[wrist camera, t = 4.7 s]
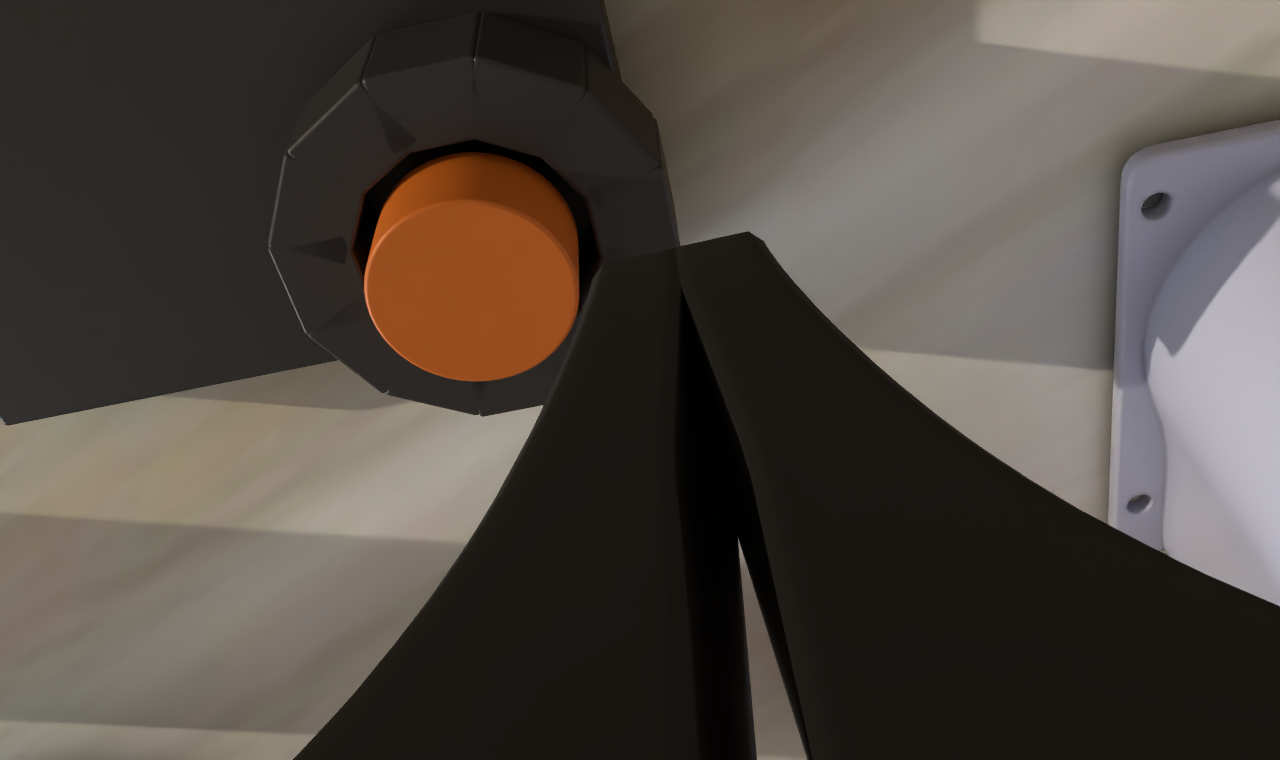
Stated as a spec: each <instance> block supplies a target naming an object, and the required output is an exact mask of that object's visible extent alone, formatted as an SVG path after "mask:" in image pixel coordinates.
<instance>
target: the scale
mask: <svg viewBox="0 0 1280 760" xmlns="http://www.w3.org/2000/svg"><path fill="white" fill-rule="evenodd" d="M463 152H481V153H491V154H496V155H500V156H505V157H507V158H510V159H513V160H516V161H518V162H520V163H523V164H525V165H527V166H529V167H530V168H532V169H533V170H535V171H536V172H538V173H540V174H541V175H542V176H543V177H545V178H546V179H547V180H548V181H549V182H551V184H552V185H553V186H554V187H555V188H556V189H557V190H558V191H559V192H560V194H561V195H562V197H563V198H564V199H565V201H566V202H567V204H568V206H569V208H570V210H571V212H572V214H573V217H574V220H575V223H576V227H577V232H578V245H579V305H578V311H577V314H576V318H575V321H574V323H573V325H572V328H571V330H570V332H569V333H568V335H567V336H566V338H565V340H564V341H563V342H562V343H561V344H560V346H559V347H558V348H557V349H556V350H555V351H554V352H553V353H552V354H551V355H550V356H549V357H547V358H546V359H545V360H544V361H542V362H541V363H539V364H538V365H536V366H535V367H533V368H531V369H529V370H527V371H525V372H522V373H520V374H517V375H514V376H511V377H507V378H503V379H498V380H491V381H461V380H456V379H450V378H446V377H442V376H439V375H435V374H433V373H430V372H428V371H426V370H423V369H421V368H419V367H418V366H416V365H414V364H412V363H410V362H409V361H408V360H406V359H405V358H403V357H402V356H401V355H399V354H398V353H397V352H396V351H395V350H394V349H393V348H392V347H391V346H390V345H389V344H388V343H387V342H386V341H385V339H384V338H383V337H382V336H381V334H380V333H379V331H378V330H377V328H376V326H375V325H374V323H373V320H372V318H371V316H370V314H369V311H368V308H367V305H366V300H365V294H364V276H365V270H366V265H367V261H368V257H369V253H370V250H371V246H372V242H373V238H374V234H375V230H376V227H377V223H378V219H379V216H380V212H381V209H382V207H383V205H384V203H385V201H386V199H387V197H388V195H389V194H390V192H391V191H392V189H393V188H394V187H395V186H396V185H397V183H398V182H399V181H400V180H401V179H402V178H403V177H405V176H406V175H407V174H408V173H410V172H411V171H412V170H414V169H415V168H417V167H419V166H420V165H422V164H424V163H426V162H428V161H431V160H433V159H436V158H439V157H442V156H446V155H450V154H456V153H463ZM679 246H680V241H679V235H678V228H677V221H676V215H675V208H674V202H673V197H672V192H671V188H670V183H669V178H668V173H667V168H666V164H665V159H664V154H663V149H662V144H661V139H660V135H659V130H658V125H657V121H656V119H655V118H653V115H652V113H651V112H650V111H649V110H648V109H647V108H646V107H645V106H644V104H643V103H642V102H641V101H640V100H639V99H638V98H637V97H636V96H635V95H634V94H633V93H632V92H631V91H630V90H629V89H628V88H627V87H626V86H625V84H624V83H623V82H622V80H621V76H620V71H619V67H618V62H617V58H616V53H615V49H614V44H613V40H612V35H611V31H610V26H609V22H608V17H607V13H606V8H605V4H604V0H0V419H1V421H2V422H3V424H5V425H13V424H18V423H23V422H28V421H33V420H38V419H43V418H48V417H53V416H58V415H63V414H68V413H73V412H78V411H83V410H89V409H94V408H99V407H104V406H109V405H114V404H119V403H124V402H129V401H134V400H139V399H144V398H149V397H154V396H159V395H164V394H169V393H175V392H180V391H185V390H190V389H195V388H200V387H205V386H210V385H215V384H220V383H225V382H230V381H235V380H240V379H245V378H250V377H256V376H261V375H266V374H271V373H276V372H281V371H286V370H291V369H296V368H301V367H306V366H311V365H316V364H321V363H326V362H331V361H336V360H339V361H341V362H342V363H343V364H345V365H346V366H347V367H349V368H350V369H351V370H352V371H354V372H355V373H356V374H358V375H359V376H360V377H362V378H363V379H364V380H365V381H367V382H368V383H369V384H371V385H372V386H373V387H375V388H376V389H377V390H379V391H380V392H381V393H385V392H386V394H388V395H390V396H394V397H399V398H403V399H407V400H412V401H416V402H420V403H425V404H429V405H434V406H438V407H442V408H447V409H451V410H455V411H460V412H464V413H468V414H473V415H479V414H480V416H488V415H494V414H499V413H504V412H509V411H514V410H520V409H525V408H530V407H535V406H540V405H544V404H545V402H546V400H547V397H548V395H549V393H550V391H551V389H552V386H553V384H554V382H555V380H556V378H557V375H558V373H559V371H560V369H561V366H562V364H563V362H564V360H565V357H566V355H567V352H568V349H569V347H570V344H571V342H572V339H573V337H574V334H575V332H576V329H577V326H578V324H579V321H580V318H581V315H582V312H583V310H584V307H585V304H586V300H587V297H588V294H589V291H590V287H591V284H592V280H593V277H594V276H595V274H596V273H597V271H598V270H599V269H600V267H601V266H602V264H603V263H607V262H611V261H616V260H620V259H625V258H629V257H634V256H638V255H643V254H647V253H652V252H657V251H661V250H666V249H670V248H675V247H679Z"/></svg>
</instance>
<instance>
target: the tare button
mask: <svg viewBox="0 0 1280 760" xmlns="http://www.w3.org/2000/svg"><path fill="white" fill-rule="evenodd" d="M364 294H365V300H366V305H367V308H368V311H369V314H370V316H371V318H372V320H373V323H374V325H375V326H376V328H377V330H378V331H379V333H380V334H381V336H382V337H383V338H384V339H385V341H386V342H387V343H388V344H389V345H390V346H391V347H392V348H393V349H394V350H395V351H396V352H397V353H398V354H399V355H401V356H402V357H403V358H405V359H406V360H408V361H409V362H410V363H412V364H414V365H416V366H418V367H419V368H421V369H423V370H426V371H428V372H430V373H433V374H435V375H439V376H442V377H446V378H450V379H456V380H461V381H491V380H498V379H503V378H507V377H511V376H514V375H517V374H520V373H522V372H525V371H527V370H529V369H531V368H533V367H535V366H536V365H538V364H539V363H541V362H542V361H544V360H545V359H546V358H547V357H549V356H550V355H551V354H552V353H553V352H554V351H555V350H556V349H557V348H558V347H559V346H560V344H561V343H562V342H563V341H564V340H565V338H566V336H567V335H568V333H569V332H570V330H571V328H572V325H573V323H574V321H575V318H576V314H577V311H578V305H579V245H578V232H577V227H576V223H575V220H574V217H573V214H572V212H571V210H570V208H569V206H568V204H567V202H566V201H565V199H564V198H563V197H562V195H561V194H560V192H559V191H558V190H557V189H556V188H555V187H554V186H553V185H552V184H551V182H549V181H548V180H547V179H546V178H545V177H543V176H542V175H541V174H540V173H538V172H536V171H535V170H533V169H532V168H530V167H529V166H527V165H525V164H523V163H520V162H518V161H516V160H513V159H510V158H507V157H505V156H500V155H496V154H491V153H481V152H463V153H456V154H450V155H446V156H442V157H439V158H436V159H433V160H431V161H428V162H426V163H424V164H422V165H420V166H419V167H417V168H415V169H414V170H412V171H411V172H410V173H408V174H407V175H406V176H405V177H403V178H402V179H401V180H400V181H399V182H398V183H397V185H396V186H395V187H394V188H393V189H392V191H391V192H390V194H389V195H388V197H387V199H386V201H385V203H384V205H383V207H382V209H381V212H380V216H379V219H378V223H377V227H376V230H375V234H374V238H373V242H372V246H371V250H370V253H369V257H368V261H367V265H366V270H365V276H364Z"/></svg>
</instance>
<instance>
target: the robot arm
mask: <svg viewBox="0 0 1280 760" xmlns="http://www.w3.org/2000/svg"><path fill="white" fill-rule="evenodd" d="M1156 193H1163V196H1162V199H1161V200H1160V201H1159V202H1158V203H1157V204H1156V206H1154V207H1151V208H1149V209H1141V208H1142V205H1143V202H1144V201H1145V200H1146V199H1147V198H1148V197H1149V196H1151V195H1154V194H1156ZM1139 495H1142V496H1141V497H1140V498H1139V499H1136V500H1134V501H1130V500H1131V499H1132V498H1133V497H1136V496H1139ZM737 535H738V536H737ZM738 538H739V542H740V545H741V548H742V551H743V554H744V558H745V561H746V564H747V567H748V571H749V574H750V577H751V580H752V583H753V587H754V590H755V593H756V596H757V599H758V603H759V606H760V609H761V612H762V616H763V619H764V622H765V625H766V628H767V632H768V635H769V638H770V641H771V644H772V648H773V651H774V654H775V657H776V660H777V664H778V667H779V670H780V673H781V676H782V680H783V683H784V686H785V689H786V692H787V696H788V699H789V702H790V705H791V708H792V711H793V715H794V718H795V721H796V724H797V727H798V731H799V734H800V737H801V740H802V743H803V747H804V750H805V753H806V756H807V760H1280V119H1279V120H1274V121H1269V122H1264V123H1259V124H1254V125H1249V126H1244V127H1239V128H1234V129H1229V130H1224V131H1219V132H1215V133H1210V134H1205V135H1200V136H1195V137H1190V138H1185V139H1180V140H1175V141H1170V142H1165V143H1160V144H1155V145H1151V146H1148V147H1145V148H1143V149H1140V150H1139V151H1138V152H1136V153H1135V154H1134V155H1132V156H1131V157H1130V158H1129V160H1128V161H1127V163H1126V164H1125V165H1124V167H1123V171H1122V175H1121V187H1120V214H1119V241H1118V267H1117V294H1116V321H1115V348H1114V375H1113V402H1112V429H1111V456H1110V483H1109V510H1108V524H1106V523H1104V522H1102V521H1100V520H1098V519H1096V518H1094V517H1092V516H1091V515H1089V514H1087V513H1085V512H1083V511H1081V510H1079V509H1078V508H1076V507H1074V506H1073V505H1071V504H1069V503H1068V502H1066V501H1064V500H1063V499H1061V498H1059V497H1058V496H1056V495H1054V494H1053V493H1051V492H1049V491H1048V490H1046V489H1044V488H1043V487H1041V486H1039V485H1038V484H1036V483H1034V482H1033V481H1031V480H1029V479H1028V478H1026V477H1025V476H1023V475H1022V474H1020V473H1019V472H1017V471H1016V470H1014V469H1013V468H1011V467H1010V466H1008V465H1007V464H1005V463H1004V462H1002V461H1001V460H999V459H998V458H996V457H995V456H993V455H992V454H990V453H989V452H987V451H986V450H984V449H983V448H981V447H980V446H978V445H977V444H976V443H974V442H973V441H971V440H970V439H969V438H967V437H966V436H965V435H963V434H962V433H960V432H959V431H958V430H956V429H955V428H954V427H952V426H951V425H950V424H948V423H947V422H946V421H944V420H943V419H942V418H940V417H939V416H938V415H936V414H935V413H934V412H933V411H931V410H930V409H929V408H928V407H926V406H925V405H924V404H923V403H922V402H920V401H919V400H918V399H917V398H915V397H914V396H913V395H912V394H910V393H909V392H908V391H907V390H905V389H904V388H903V387H902V386H900V385H899V384H898V383H897V382H896V381H895V380H893V379H892V378H891V377H890V376H889V375H888V374H887V373H885V372H884V371H883V370H882V369H881V368H880V367H878V366H877V365H876V364H875V363H874V362H873V361H872V360H871V359H870V358H869V357H868V356H866V355H865V354H864V353H863V352H862V351H861V350H860V349H859V348H858V347H857V346H856V345H855V344H854V343H853V342H852V341H851V340H850V339H848V338H847V337H846V336H845V335H844V334H843V333H842V332H841V331H840V330H839V329H838V328H837V327H836V326H835V325H834V324H833V323H832V322H831V321H830V320H829V319H828V318H827V317H826V316H825V315H824V314H823V313H822V312H821V311H820V310H819V309H818V308H817V307H816V306H815V305H814V304H813V303H812V301H811V300H810V299H809V298H808V297H807V296H806V295H805V294H804V293H803V292H802V290H801V289H800V288H799V287H798V286H797V285H796V284H795V283H794V281H793V280H792V279H791V278H790V277H789V275H788V274H787V273H786V272H785V271H784V269H783V268H782V267H781V266H780V264H779V263H778V262H777V260H776V259H775V258H774V256H773V255H772V254H771V252H770V251H769V249H768V248H767V246H766V244H765V243H764V241H763V240H761V239H759V238H758V237H756V236H755V235H753V234H752V233H750V232H743V233H739V234H734V235H729V236H725V237H720V238H716V239H711V240H707V241H702V242H698V243H693V244H688V245H684V246H679V247H675V248H670V249H666V250H661V251H657V252H652V253H647V254H643V255H638V256H634V257H629V258H625V259H620V260H616V261H611V262H607V263H603V264H602V266H601V267H600V269H599V270H598V271H597V273H596V274H595V276H594V277H593V280H592V284H591V287H590V291H589V294H588V297H587V300H586V304H585V307H584V310H583V312H582V315H581V318H580V321H579V324H578V326H577V329H576V332H575V334H574V337H573V339H572V342H571V344H570V347H569V349H568V352H567V355H566V357H565V360H564V362H563V364H562V366H561V369H560V371H559V373H558V375H557V378H556V380H555V382H554V384H553V386H552V389H551V391H550V393H549V395H548V397H547V400H546V402H545V404H544V406H543V409H542V411H541V413H540V415H539V417H538V419H537V421H536V423H535V425H534V427H533V429H532V431H531V433H530V435H529V437H528V439H527V441H526V443H525V445H524V446H523V448H522V450H521V452H520V454H519V456H518V457H517V459H516V461H515V463H514V465H513V467H512V468H511V470H510V472H509V474H508V476H507V478H506V480H505V481H504V483H503V485H502V487H501V489H500V491H499V492H498V494H497V496H496V498H495V500H494V501H493V503H492V505H491V506H490V508H489V510H488V511H487V513H486V515H485V516H484V518H483V519H482V521H481V523H480V524H479V526H478V528H477V529H476V531H475V532H474V534H473V536H472V537H471V539H470V540H469V542H468V543H467V545H466V546H465V548H464V549H463V551H462V553H461V554H460V555H459V557H458V558H457V560H456V561H455V563H454V564H453V566H452V567H451V569H450V570H449V571H448V573H447V574H446V576H445V577H444V579H443V580H442V582H441V583H440V585H439V586H438V588H437V589H436V590H435V592H434V593H433V595H432V596H431V597H430V599H429V600H428V601H427V603H426V604H425V605H424V607H423V608H422V609H421V610H420V612H419V613H418V614H417V616H416V617H415V618H414V620H413V621H412V622H411V623H410V625H409V626H408V627H407V629H406V630H405V631H404V633H403V634H402V635H401V636H400V638H399V639H398V640H397V642H396V643H395V644H394V646H393V647H392V648H391V649H390V650H389V652H388V653H387V654H386V655H385V657H384V658H383V659H382V660H381V661H380V663H379V664H378V665H377V666H376V668H375V669H374V670H373V671H372V672H371V674H370V675H369V676H368V677H367V679H366V680H365V681H364V682H363V683H362V685H361V686H360V687H359V688H358V690H357V691H356V692H355V693H354V694H353V695H352V696H351V698H350V699H349V700H348V701H347V702H346V703H345V704H344V705H343V707H342V708H341V709H340V710H339V711H338V712H337V713H336V714H335V715H334V716H333V717H332V719H331V720H330V721H329V722H328V723H327V724H326V725H325V726H324V727H323V728H322V729H321V730H320V731H319V733H318V734H317V735H316V736H315V737H314V738H313V739H312V740H311V741H310V742H309V743H308V744H307V745H306V747H305V748H304V749H303V750H302V751H301V752H300V753H299V754H298V755H297V756H296V757H295V758H294V759H293V760H757V756H756V744H755V733H754V721H753V709H752V697H751V686H750V674H749V662H748V650H747V638H746V627H745V615H744V603H743V592H742V581H741V569H740V558H739V547H738ZM1160 550H1166V552H1167V554H1168V555H1166V554H1164V553H1162V552H1160Z"/></svg>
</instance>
